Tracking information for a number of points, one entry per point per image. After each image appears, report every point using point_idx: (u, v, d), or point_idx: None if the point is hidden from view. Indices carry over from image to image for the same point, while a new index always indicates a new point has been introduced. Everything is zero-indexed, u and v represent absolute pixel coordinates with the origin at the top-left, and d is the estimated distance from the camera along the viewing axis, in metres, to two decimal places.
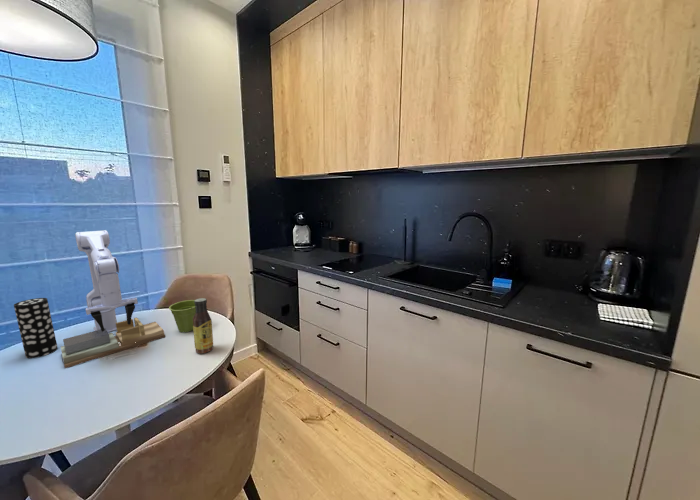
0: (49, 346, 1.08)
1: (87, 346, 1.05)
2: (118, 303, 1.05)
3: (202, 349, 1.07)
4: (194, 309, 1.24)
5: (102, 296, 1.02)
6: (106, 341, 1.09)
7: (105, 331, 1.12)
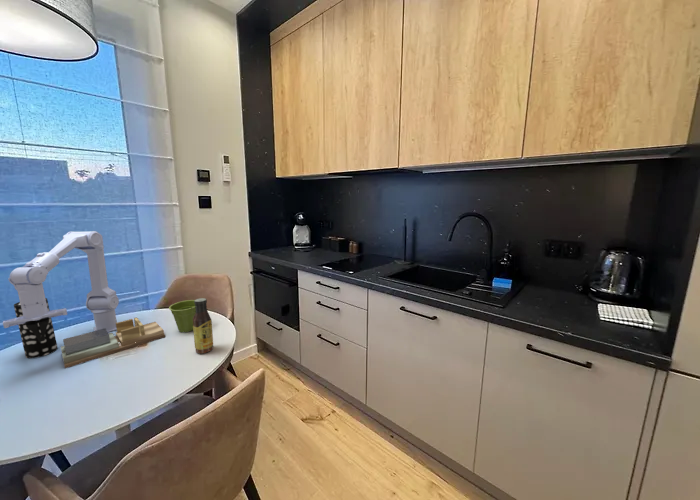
0: (49, 346, 1.08)
1: (87, 346, 1.05)
2: (42, 315, 0.97)
3: (202, 349, 1.07)
4: (194, 309, 1.24)
5: (22, 307, 0.94)
6: (106, 341, 1.09)
7: (105, 331, 1.12)
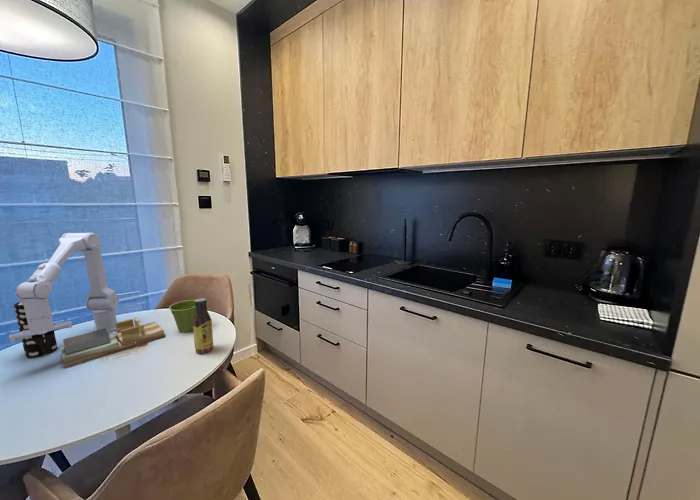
0: None
1: (87, 346, 1.05)
2: (47, 328, 0.98)
3: (202, 349, 1.07)
4: (194, 309, 1.24)
5: (28, 321, 0.95)
6: (106, 341, 1.09)
7: (105, 331, 1.12)
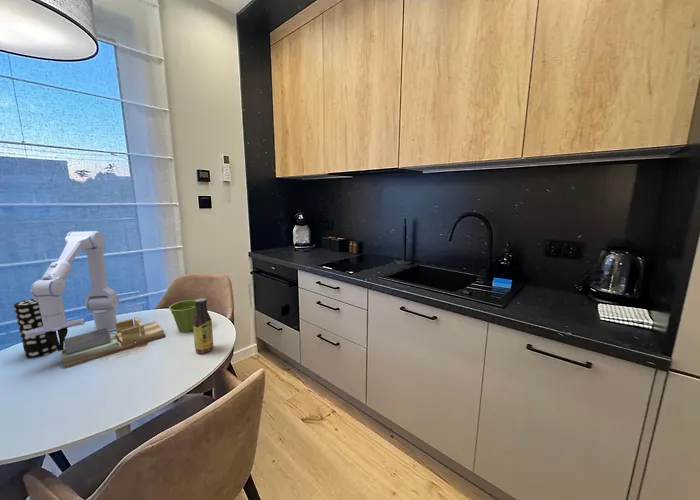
0: (49, 346, 1.08)
1: (88, 346, 1.05)
2: (61, 325, 1.00)
3: (202, 349, 1.07)
4: (194, 309, 1.24)
5: (43, 318, 0.98)
6: (107, 341, 1.09)
7: (106, 331, 1.12)
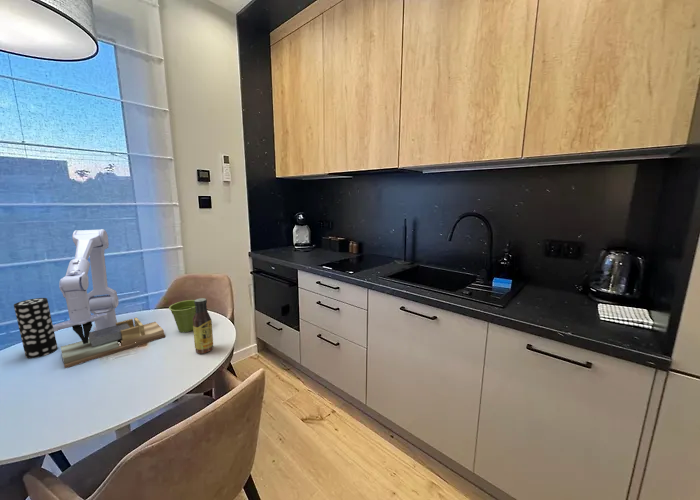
0: (49, 346, 1.08)
1: (111, 339, 1.10)
2: (86, 319, 1.05)
3: (202, 349, 1.07)
4: (194, 309, 1.24)
5: (70, 312, 1.03)
6: None
7: (127, 325, 1.17)
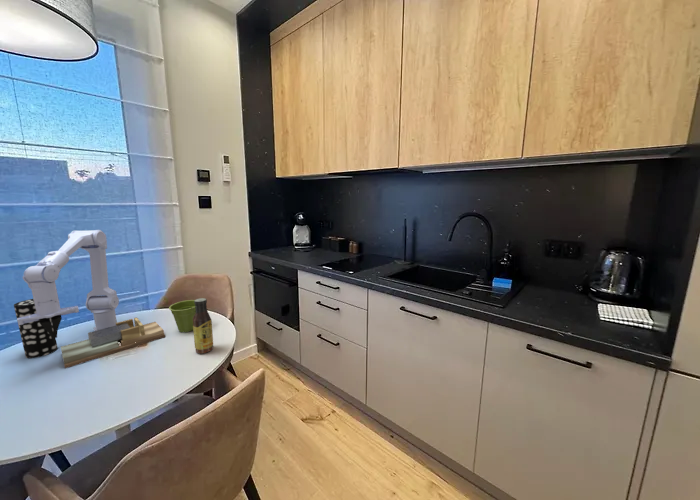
0: (49, 346, 1.08)
1: (111, 339, 1.10)
2: (55, 312, 0.99)
3: (202, 349, 1.07)
4: (194, 309, 1.24)
5: (36, 305, 0.96)
6: None
7: (127, 325, 1.17)
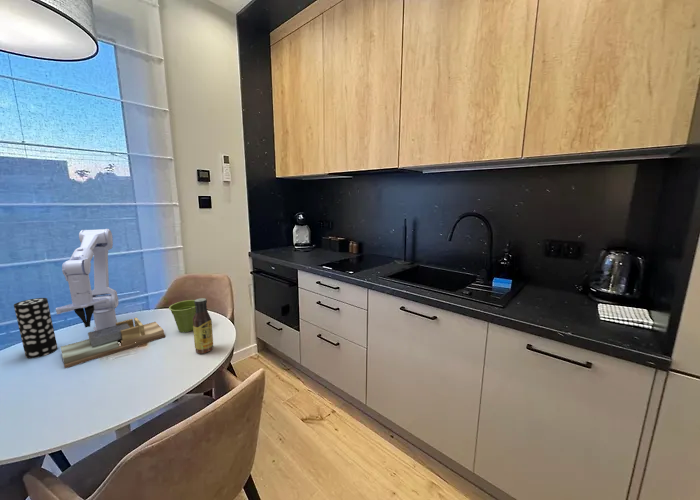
0: (49, 346, 1.08)
1: (111, 339, 1.10)
2: (89, 303, 1.07)
3: (202, 349, 1.07)
4: (194, 309, 1.24)
5: (72, 296, 1.05)
6: None
7: (127, 325, 1.17)
